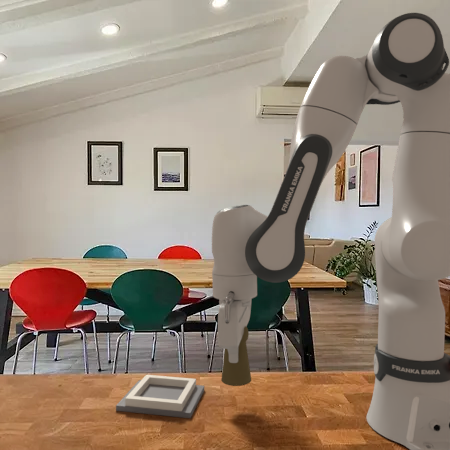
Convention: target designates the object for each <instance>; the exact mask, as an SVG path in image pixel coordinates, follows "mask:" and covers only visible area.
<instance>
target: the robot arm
mask: <svg viewBox="0 0 450 450" xmlns="http://www.w3.org/2000/svg"><path fill="white" fill-rule="evenodd" d="M449 64H450V58H449V56H448V54H447V51H446V49H445V45H444V39H443V35H442V32H441V29H440V27H439V26H438V24H437V22H436V21H435V20H434V19H432V18H431V17H430V16H429V15H426V14H423V13H420V12H407V13H404V14H401V15H399V16H397V17H395V18H393V19H391V20H390V21H388V22H387V23H386V24H385V25H384V26H383V27H382V28H381V29H380V31H379V32H378V33H377V35H375V39H374V41H373V44H372V45H371V47H370V48H369V51H368V52H367V54H366V55H364V56H362V57H352V56H348V55H334V56H332V57H329V58H328V59H327V58H326V59H325V61H323V62H322V64H320V67H319V68H318V70H317V71H316V73H315V75H314V77H313V79H312V80H311V82H310V83H309V86H308V87H307V90H306V92H305V94H304V97H303V99H302V102H301V104H300V107H299V108H298V112H297V116H296V119H295V122H294V126H293V130H292V135H291V140H290V149H289V159H288V164H287V169H286V171H285V174H284V177H283V180H282V182H281V183H280V187H279V190H278V192H277V195H276V198H275V200H274V202H273V205H272V208H271V209H270V212H269V213H268V215H266V214H264V213H262V212H260V211H259V210H257V209H256V208H254V207H253V206H252V205H249V204H241V205H234V206H229V207H225V208H222V209H220V210H219V211H217V212H216V214H215V215H214V216H213V220H212V227H211V228H212V229H211V253H212V257H213V267H212V270H211V271H212V272H211V273H212V274H211V276H212V277H211V278H212V297H213V298H214V299H216V300H219V301H218V303H219V307H218V314H217V343H218V345H217V346H218V347H219V348H220V349H223V350H225V349H228V353H229V362H230V363H237V362H238V360H239V351H238V346H239V344H240V341H241V339H242V336H243V333H244V327H245V326H246V327H247V326H248V324H249V321H250V318H251V312H252V311H251V310H252V299H254V298H256V297H258V278H259V279H261V280H262V281H265V282H269V283H275V284H276V283H284V282H287V281H289V280H291V279H293V278H294V277H296V276H297V274H298V273H299V272H300V271H301V270H302V268H303V265H304V262H305V259H306V258H305V257H306V245H305V229H306V227H307V223H308V221H309V220H308V219H309V217H310V214H311V211H312V208H313V207H314V203H315V201H316V198H317V196H318V194H319V190H320V188H321V186H322V183H323V181H324V180H325V178H326V176H327V175H328V174H329V172H330V171H331V170H332V169H333V167H334V166H335V165H336V164H337V163H338V162H339V161H340V159H341V158H342V156H343V155H344V153H345V152H346V150H347V148H348V146H349V144H350V143H351V140H352V137H353V136H354V133H355V131H356V128H357V126H358V124H359V121H360V118H361V115H362V113H363V110H364V108H366V105H381V106H382V105H383V106H389V105H395V104H398V103H400V104H401V107H402V110H403V112H402V113H403V114H402V115H403V116H402V117H403V121H402V126H401V129H400V134H399V135H400V136H399V138H398V139H399V140H398V145H397V150H396V156H395V160H394V161H395V162H394V166H393V172H392V179H391V181H392V208H391V210H392V211H391V216H390V217H388V218H387V219H386V220H385V221H384V222H382V223H381V225H379V227H378V228H377V230H376V233H375V234H374V235H375V236H374V253H375V254H374V257H375V258H374V259H375V260H374V261H375V277H376V288H377V298H378V299H377V300H378V317H377V319H378V321H377V324H378V325H377V344H376V345H375V346H374V347H375V349H374V356H373V372H374V373H373V374H374V377H375V379H374V385H373V386H374V387H373V393H372V398H371V402H370V405H369V407H368V410H367V414H366V422H367V423H368V425H369V426H370V427H371V428H372V429H373V431H375V432H376V433H378V434H379V435H381V436H383V437H385V439H389V440H391V441H394V442H395V443H398V444H401V445H403V446H404V447H406V448H407V449H409V450H450V355H449V354H447V353H446V352H445V337H446V336H445V335H446V334H445V333H446V309H445V306H444V303H443V300H442V295H441V291H440V290H441V289H440V283H439V281H440V280H443V279H446V278H449V277H450V73H448V72H447V69H448V68H449V66H450V65H449ZM247 328H248V327H247Z"/></svg>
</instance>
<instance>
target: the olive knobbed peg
mask: <svg viewBox="0 0 450 450" xmlns="http://www.w3.org/2000/svg"><path fill="white" fill-rule="evenodd" d="M249 336H250V335H249V329H248V327H246V326H245V327H244V333H243V336H242V339H241V341H240V344H239V346H238V351H239V360H238V362H237V363H230V362H229V353H228V349H224V353H223V362H222V370H221V372H222V373H221V382H222V383H223V384H225V385H227V386H231V387H241V386H245V385H248V384H250V383H251V382H252V375H251V368H250V367H251V366H250V361H249V353H248V347H247V341H248V340H249Z"/></svg>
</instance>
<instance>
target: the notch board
mask: <svg viewBox="0 0 450 450" xmlns="http://www.w3.org/2000/svg"><path fill="white" fill-rule="evenodd" d="M204 392H205V385H199V384H197V378H193V377H192V378H191V377H180V376H179V377H178V376H168V375H167V376H165V375H155V374H146V375H144V377H142V379H139V380H138V381H136V382H135V384H134V385H133V386H132V387H131V388H130V390H128V392H127V393H126V394H125V395H124V396H123V397H122V399H121V400H120V401H119V402H117V404H116V405H115V411H116V412H124V413H125V412H126V413H135V414H136V413H137V414H144V415H145V414H146V415H154V416H165V417H175V418H184V419H192V417H193V414H194V411H195V410H196V408H197V406H198V404H199V402H200V400H201V398H202V395H203V394H204Z"/></svg>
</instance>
